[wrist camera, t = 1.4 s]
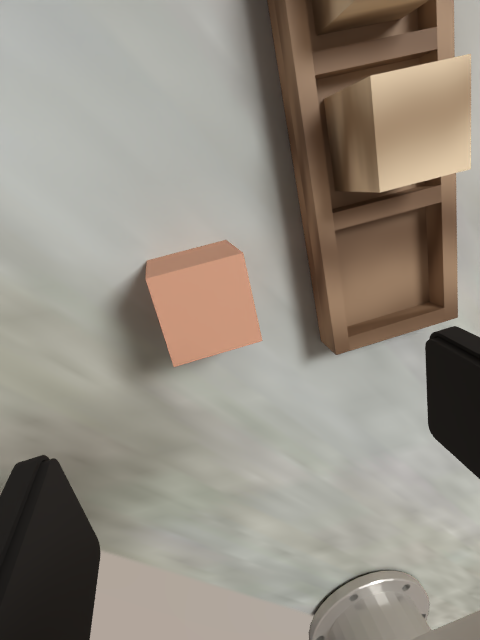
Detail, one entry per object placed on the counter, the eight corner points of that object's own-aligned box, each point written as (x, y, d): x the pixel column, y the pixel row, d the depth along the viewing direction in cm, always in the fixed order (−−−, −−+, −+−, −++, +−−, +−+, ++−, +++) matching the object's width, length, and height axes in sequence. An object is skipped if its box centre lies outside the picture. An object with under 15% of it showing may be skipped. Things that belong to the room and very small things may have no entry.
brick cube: (242, 313, 26) (262, 340, 21) (169, 333, 25) (174, 367, 21) (225, 239, 24) (243, 252, 20) (146, 260, 24) (145, 278, 19)
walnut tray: (433, 306, 29) (500, 335, 23) (320, 340, 28) (362, 379, 22) (416, -144, 20) (519, -272, 14) (248, -120, 19) (288, -248, 13)
